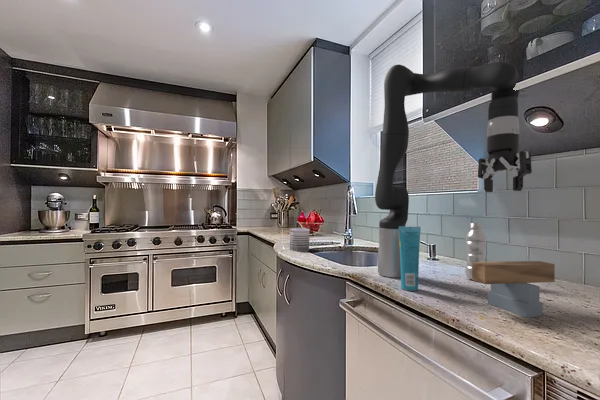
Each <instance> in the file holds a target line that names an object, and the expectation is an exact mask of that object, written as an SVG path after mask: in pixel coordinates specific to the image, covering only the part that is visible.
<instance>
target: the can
mask: <svg viewBox="0 0 600 400" xmlns="http://www.w3.org/2000/svg"><path fill="white" fill-rule="evenodd" d="M310 231H311V230H310V228H306V227H304V228H303V227H294V228H293V227H292V228H290V229H289V251H292V252H308V251H310Z"/></svg>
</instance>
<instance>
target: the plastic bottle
mask: <svg viewBox="0 0 600 400" xmlns="http://www.w3.org/2000/svg"><path fill="white" fill-rule="evenodd" d="M469 229H470V230H469V231H468V232H467V234H465V244H466V253H467V256H466V257H467V258H466V265H465V270H464V271H465V272H464V273H465V276H466V278H467V279H469V280H472V262H486V261H485V255H486V245H487V236H486V235H485V233H484V232H483V230H482V229H483V224H482V223H481V222H480V223H479V222H470V223H469Z"/></svg>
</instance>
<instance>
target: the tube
mask: <svg viewBox="0 0 600 400" xmlns="http://www.w3.org/2000/svg"><path fill="white" fill-rule="evenodd" d="M399 241H400V263H401V277H400V285H401V286H400V288H401V290H405V291H413V292H415V291H419V274H420V273H419V267H420V266H419V265H420V242H421V226H406V225H405V226H399Z"/></svg>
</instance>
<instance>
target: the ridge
mask: <svg viewBox="0 0 600 400" xmlns="http://www.w3.org/2000/svg"><path fill="white" fill-rule="evenodd" d="M487 304H489V305H491V306H495V307H498V308H499V309H502V310H505V311H507V312H511V313H513V314H516V315H518V316H522V317H524V318H535V317H542V316H543V315H544V314H543V313H544V311H543V308H544V307H543V304H544V303H543V302H540V285H536V284H534V283H508V284H490V291H487Z"/></svg>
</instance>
